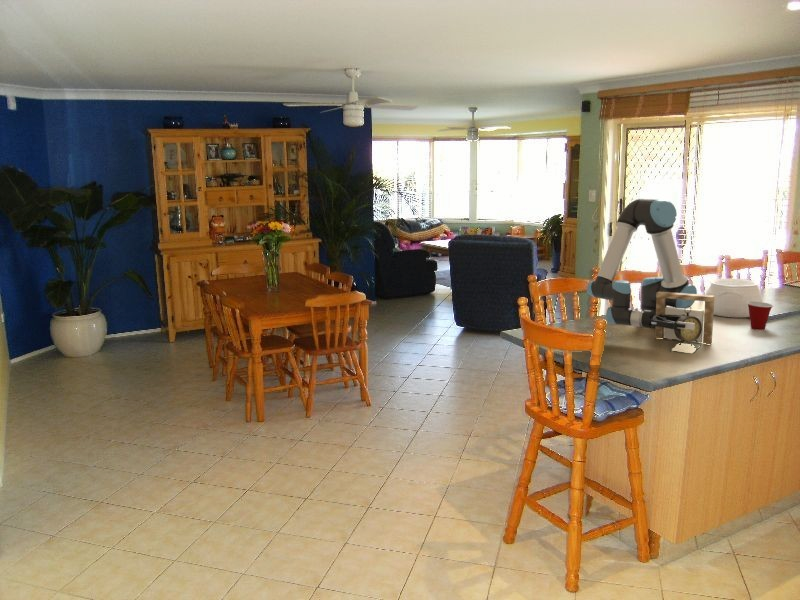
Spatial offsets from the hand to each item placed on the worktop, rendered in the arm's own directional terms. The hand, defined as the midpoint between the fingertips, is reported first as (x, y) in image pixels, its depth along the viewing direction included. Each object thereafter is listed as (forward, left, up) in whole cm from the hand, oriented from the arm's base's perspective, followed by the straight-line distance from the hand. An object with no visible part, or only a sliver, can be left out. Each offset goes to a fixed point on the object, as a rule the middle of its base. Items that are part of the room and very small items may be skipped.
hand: (697, 323), depth 284 cm
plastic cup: (+16, +51, -11) cm, 55 cm away
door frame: (-8, +12, -11) cm, 18 cm away
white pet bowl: (0, +79, -12) cm, 80 cm away
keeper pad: (-4, 0, -11) cm, 12 cm away
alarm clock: (-4, 0, -9) cm, 10 cm away
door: (-8, +12, -11) cm, 18 cm away
